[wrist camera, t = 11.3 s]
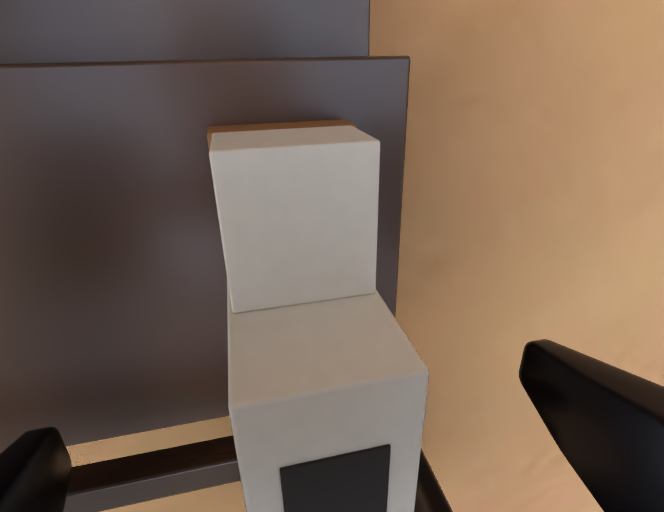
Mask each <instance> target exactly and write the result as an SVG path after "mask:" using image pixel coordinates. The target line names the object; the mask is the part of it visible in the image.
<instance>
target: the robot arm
mask: <svg viewBox="0 0 664 512" xmlns="http://www.w3.org/2000/svg"><path fill="white" fill-rule="evenodd" d="M519 378H520V381H521V384H522V386H523V387H524V389H525V391H526V392H527V394H528V396H529V398H530V399H531V401H532V403H533V404H534V406H535V408H536V410H537V411H538V413H539V415H540V416H541V418H542V420H543V422H544V423H545V425H546V427H547V428H548V430H549V432H550V434H551V435H552V437H553V439H554V440H555V442H556V444H557V445H558V447H559V448H560V450H561V451H562V453H563V454H564V456H565V457H566V459H567V460H568V462H569V463H570V465H571V466H572V467H573V469H574V470H575V472H576V473H577V474H578V476H579V477H580V479H581V480H582V481H583V483H584V484H585V486H586V487H587V488H588V490H589V491H590V493H591V494H592V495H593V497H594V498H595V500H596V501H597V502H598V504H599V505H600V507H601V508H602V510H603V511H604V512H664V387H663V386H661V385H658V384H656V383H653V382H651V381H648V380H646V379H643V378H641V377H639V376H636V375H634V374H631V373H629V372H626V371H624V370H621V369H619V368H616V367H614V366H611V365H609V364H607V363H604V362H602V361H599V360H597V359H594V358H592V357H589V356H587V355H584V354H582V353H579V352H577V351H575V350H572V349H570V348H567V347H565V346H562V345H560V344H557V343H555V342H552V341H550V340H546V339H542V340H536V341H531V342H528V343H527V344H526V345H525V347H524V351H523V356H522V360H521V365H520V369H519ZM71 470H72V465H71V459H70V456H69V454H68V451H67V449H66V446H65V444H64V442H63V439H62V437H61V435H60V432H59V431H58V429H57V428H55V427H44V428H39V429H33V430H29V431H27V432H25V433H24V434H22V435H21V436H20V437H19V438H18V439H16V440H15V441H14V442H13V443H12V444H11V445H10V446H8V447H7V448H6V449H5V450H4V451H3V452H2V453H0V512H64V507H65V502H66V497H67V492H68V487H69V482H70V477H71ZM414 512H453V511H452V509H451V507H450V505H449V503H448V501H447V499H446V497H445V495H444V493H443V491H442V489H441V487H440V485H439V483H438V481H437V479H436V477H435V475H434V473H433V471H432V469H431V467H430V465H429V463H428V461H427V459H426V457H425V455H424V453H423V451H422V449H421V452H420V461H419V470H418V479H417V488H416V497H415V507H414Z"/></svg>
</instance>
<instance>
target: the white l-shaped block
mask: <svg viewBox="0 0 664 512" xmlns="http://www.w3.org/2000/svg"><path fill="white" fill-rule="evenodd" d="M207 140H208V147H209V158H210V164H211V171H212V178H213V185H214V192H215V198H216V205H217V212H218V219H219V225H220V232H221V239H222V246H223V253H224V259H225V266H226V273H227V317H228V408H229V414H230V420H231V426H232V431H233V437H234V443H235V449H236V454H237V460H238V466H239V472H240V478H241V483H242V489H243V495H244V501H245V506H246V512H414V507H415V497H416V488H417V479H418V470H419V461H420V452H421V443H422V433H423V424H424V415H425V406H426V397H427V388H428V378H429V370H428V368H427V367H426V365H425V364H424V362H423V361H422V359H421V357H420V356H419V354H418V353H417V351H416V350H415V348H414V347H413V345H412V344H411V342H410V341H409V339H408V338H407V336H406V334H405V333H404V331H403V330H402V328H401V327H400V325H399V324H398V322H397V321H396V319H395V318H394V316H393V314H392V313H391V311H390V310H389V308H388V307H387V305H386V304H385V302H384V301H383V299H382V298H381V296H380V295H379V293H378V291H377V290H376V258H377V227H378V196H379V165H380V141H379V140H377V139H375V138H373V137H372V136H370V135H368V134H366V133H364V132H362V131H360V130H359V129H357V128H356V125H355V124H353V123H351V122H349V121H347V120H345V119H339V120H320V121H301V122H282V123H262V124H243V125H224V126H210V127H209V128H208V132H207Z"/></svg>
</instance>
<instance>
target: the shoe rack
mask: <svg viewBox="0 0 664 512" xmlns="http://www.w3.org/2000/svg"><path fill="white" fill-rule="evenodd" d="M369 29H370V0H0V453H2V452H3V451H4V450H5V449H6V448H7V447H8V446H10V445H11V444H12V443H13V442H14V441H15V440H16V439H18V438H19V437H20V436H21V435H22V434H24V433H25V432H27V431H29V430H33V429H39V428H44V427H55V428H57V429H58V431H59V432H60V435H61V437H62V439H63V442H64V444H65V446H70V445H75V444H81V443H86V442H91V441H97V440H102V439H107V438H113V437H118V436H123V435H129V434H134V433H139V432H145V431H150V430H155V429H161V428H166V427H171V426H177V425H182V424H187V423H193V422H198V421H203V420H209V419H214V418H219V417H225V416H230V414H229V408H228V317H227V273H226V266H225V259H224V253H223V246H222V239H221V232H220V225H219V219H218V212H217V205H216V198H215V192H214V185H213V178H212V171H211V164H210V158H209V147H208V140H207V132H208V128H209V127H210V126H224V125H243V124H262V123H282V122H301V121H320V120H339V119H345V120H347V121H349V122H351V123H353V124H355V125H356V128H357V129H359V130H360V131H362V132H364V133H366V134H368V135H370V136H372V137H373V138H375V139H377V140H379V141H380V165H379V196H378V227H377V258H376V290H377V291H378V293H379V295H380V296H381V298H382V299H383V301H384V302H385V304H386V305H387V307H388V308H389V310H390V311H391V313H392V314H393V316H394V318H395V311H396V294H397V277H398V260H399V243H400V226H401V209H402V191H403V174H404V157H405V140H406V123H407V106H408V89H409V72H410V57H409V56H369ZM237 481H241V478H240V472H239V466H238V460H237V454H236V449H235V443H234V437H233V436H228V437H223V438H218V439H213V440H208V441H203V442H198V443H193V444H188V445H183V446H178V447H173V448H167V449H162V450H157V451H152V452H147V453H142V454H137V455H132V456H127V457H122V458H117V459H112V460H107V461H101V462H96V463H91V464H86V465H81V466H76V467H72V470H71V477H70V482H69V487H68V492H67V497H66V502H65V507H64V512H100V511H104V510H109V509H113V508H118V507H123V506H127V505H132V504H136V503H141V502H145V501H150V500H155V499H159V498H164V497H168V496H173V495H177V494H182V493H187V492H191V491H196V490H200V489H205V488H209V487H214V486H219V485H223V484H228V483H232V482H237Z"/></svg>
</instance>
